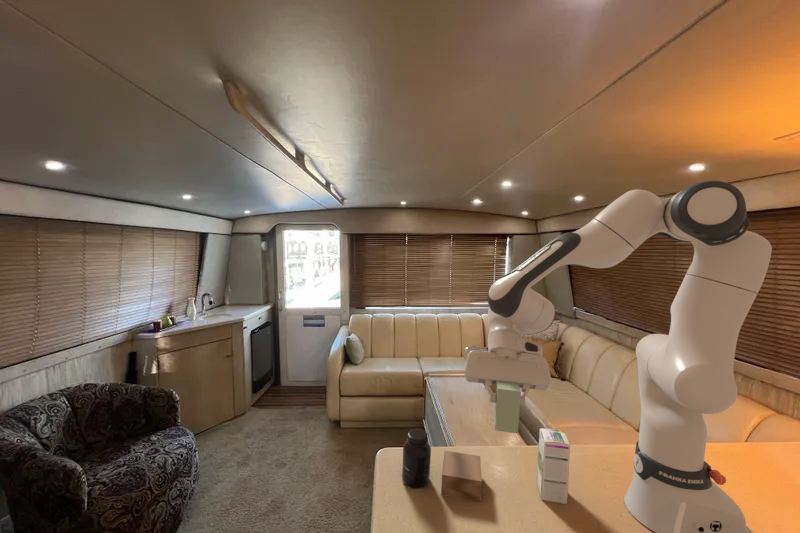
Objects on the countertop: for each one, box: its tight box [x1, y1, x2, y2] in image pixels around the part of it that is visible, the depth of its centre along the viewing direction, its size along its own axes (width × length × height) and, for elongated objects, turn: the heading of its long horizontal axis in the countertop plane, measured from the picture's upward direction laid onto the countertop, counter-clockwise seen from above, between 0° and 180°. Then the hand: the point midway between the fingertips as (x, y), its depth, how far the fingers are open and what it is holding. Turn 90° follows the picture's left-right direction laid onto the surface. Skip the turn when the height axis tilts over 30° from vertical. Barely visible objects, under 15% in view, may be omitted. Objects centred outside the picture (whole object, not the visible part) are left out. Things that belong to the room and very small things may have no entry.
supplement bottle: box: [401, 428, 432, 490], centre depth 82 cm, size 7×7×12 cm
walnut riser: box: [440, 450, 483, 503], centre depth 81 cm, size 9×9×5 cm
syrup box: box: [536, 427, 571, 505], centre depth 78 cm, size 6×6×14 cm
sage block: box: [493, 381, 522, 434], centre depth 78 cm, size 5×5×10 cm
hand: (507, 403), depth 78 cm, fingers closed on sage block, 5 cm apart
